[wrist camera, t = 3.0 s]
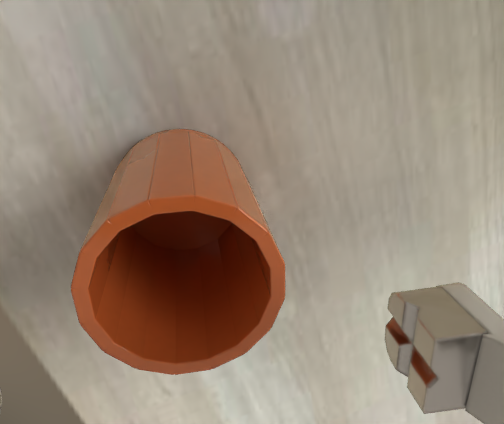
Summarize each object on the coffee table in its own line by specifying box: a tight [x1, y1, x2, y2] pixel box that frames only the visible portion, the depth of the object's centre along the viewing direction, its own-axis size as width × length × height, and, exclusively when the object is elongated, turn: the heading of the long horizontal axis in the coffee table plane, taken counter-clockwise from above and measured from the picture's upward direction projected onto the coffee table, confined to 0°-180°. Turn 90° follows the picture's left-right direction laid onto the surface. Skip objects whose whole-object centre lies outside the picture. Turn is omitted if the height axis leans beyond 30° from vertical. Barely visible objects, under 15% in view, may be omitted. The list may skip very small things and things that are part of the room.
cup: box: [71, 129, 285, 375], centre depth 14 cm, size 5×5×7 cm
